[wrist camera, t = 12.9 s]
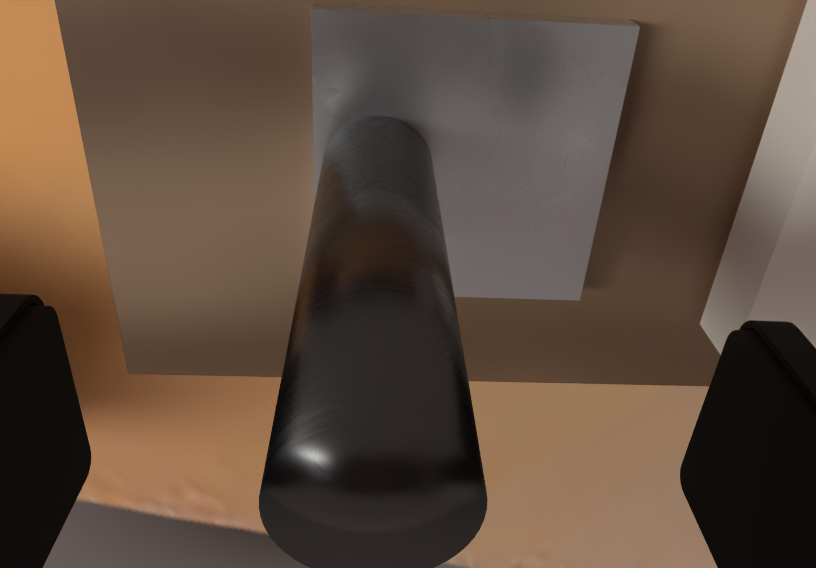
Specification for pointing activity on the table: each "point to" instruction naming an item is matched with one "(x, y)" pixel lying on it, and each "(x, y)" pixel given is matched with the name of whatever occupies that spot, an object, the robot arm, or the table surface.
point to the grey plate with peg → (427, 258)
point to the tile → (775, 212)
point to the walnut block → (294, 184)
